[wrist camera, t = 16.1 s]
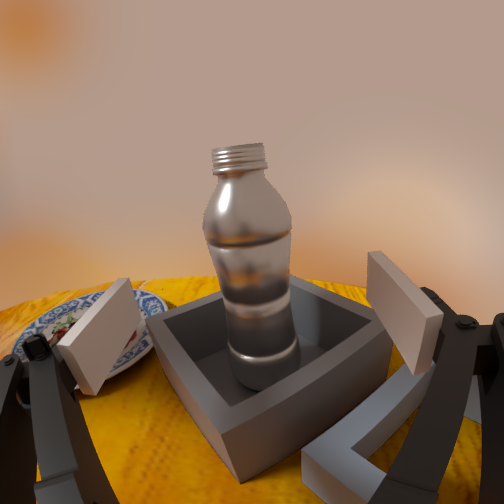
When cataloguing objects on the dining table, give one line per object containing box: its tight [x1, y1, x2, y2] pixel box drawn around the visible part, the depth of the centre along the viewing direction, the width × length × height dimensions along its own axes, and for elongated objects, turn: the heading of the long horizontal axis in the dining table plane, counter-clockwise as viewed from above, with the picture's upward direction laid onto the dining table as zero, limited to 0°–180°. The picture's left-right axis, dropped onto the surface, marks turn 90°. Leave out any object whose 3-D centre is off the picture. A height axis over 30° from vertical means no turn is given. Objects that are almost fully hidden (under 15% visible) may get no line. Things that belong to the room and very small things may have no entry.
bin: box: [145, 274, 393, 484], centre depth 25 cm, size 16×16×7 cm
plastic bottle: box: [203, 143, 302, 391], centre depth 23 cm, size 6×7×20 cm
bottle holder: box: [301, 360, 481, 504], centre depth 12 cm, size 15×15×5 cm
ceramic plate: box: [11, 289, 168, 390], centre depth 35 cm, size 26×26×3 cm
